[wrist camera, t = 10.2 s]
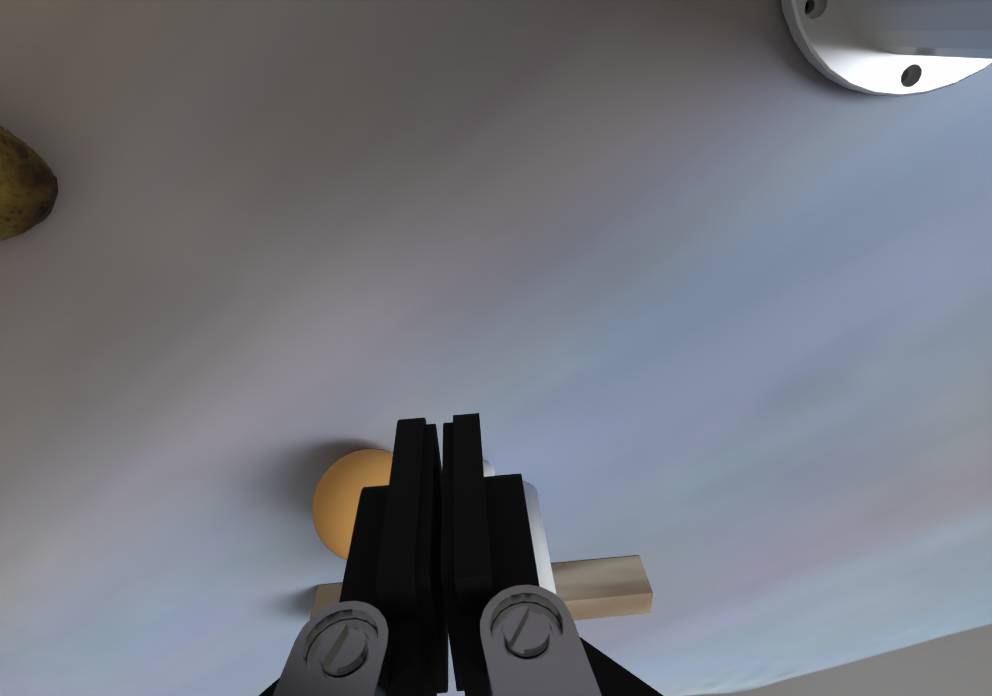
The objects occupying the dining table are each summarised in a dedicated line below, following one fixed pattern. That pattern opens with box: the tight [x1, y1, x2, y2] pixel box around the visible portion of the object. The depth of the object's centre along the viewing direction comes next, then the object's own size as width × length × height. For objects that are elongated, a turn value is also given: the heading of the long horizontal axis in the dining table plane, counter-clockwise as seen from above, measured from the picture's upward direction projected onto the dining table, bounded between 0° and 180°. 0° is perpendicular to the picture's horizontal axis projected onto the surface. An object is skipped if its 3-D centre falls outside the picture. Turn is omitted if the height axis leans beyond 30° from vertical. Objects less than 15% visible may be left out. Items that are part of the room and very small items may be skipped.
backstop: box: [310, 555, 653, 620], centre depth 38 cm, size 2×22×3 cm, turn 93°
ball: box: [312, 449, 393, 560], centre depth 31 cm, size 6×6×6 cm
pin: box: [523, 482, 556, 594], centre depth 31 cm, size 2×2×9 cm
